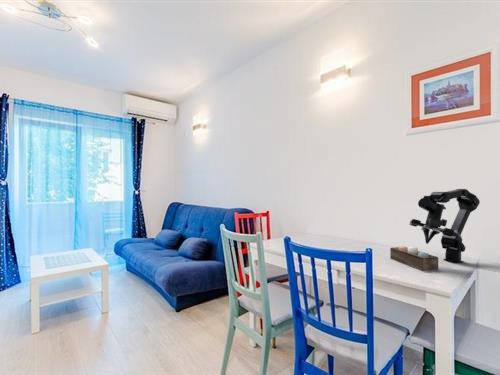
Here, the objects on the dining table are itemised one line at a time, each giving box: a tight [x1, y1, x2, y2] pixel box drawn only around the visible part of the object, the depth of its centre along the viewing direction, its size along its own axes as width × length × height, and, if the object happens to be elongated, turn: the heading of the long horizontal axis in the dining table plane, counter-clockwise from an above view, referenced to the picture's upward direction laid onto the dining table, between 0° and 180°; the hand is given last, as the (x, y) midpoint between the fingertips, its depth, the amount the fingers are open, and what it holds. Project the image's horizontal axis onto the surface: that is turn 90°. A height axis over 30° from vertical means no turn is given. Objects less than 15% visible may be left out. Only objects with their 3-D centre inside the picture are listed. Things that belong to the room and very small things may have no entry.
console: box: [389, 246, 439, 271], centre depth 137 cm, size 9×22×6 cm, turn 9°
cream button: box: [407, 246, 419, 254], centre depth 137 cm, size 4×4×5 cm
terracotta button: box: [397, 245, 408, 250], centre depth 144 cm, size 4×4×5 cm
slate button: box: [418, 251, 430, 257], centre depth 130 cm, size 4×4×5 cm
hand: (426, 243), depth 134 cm, fingers closed
